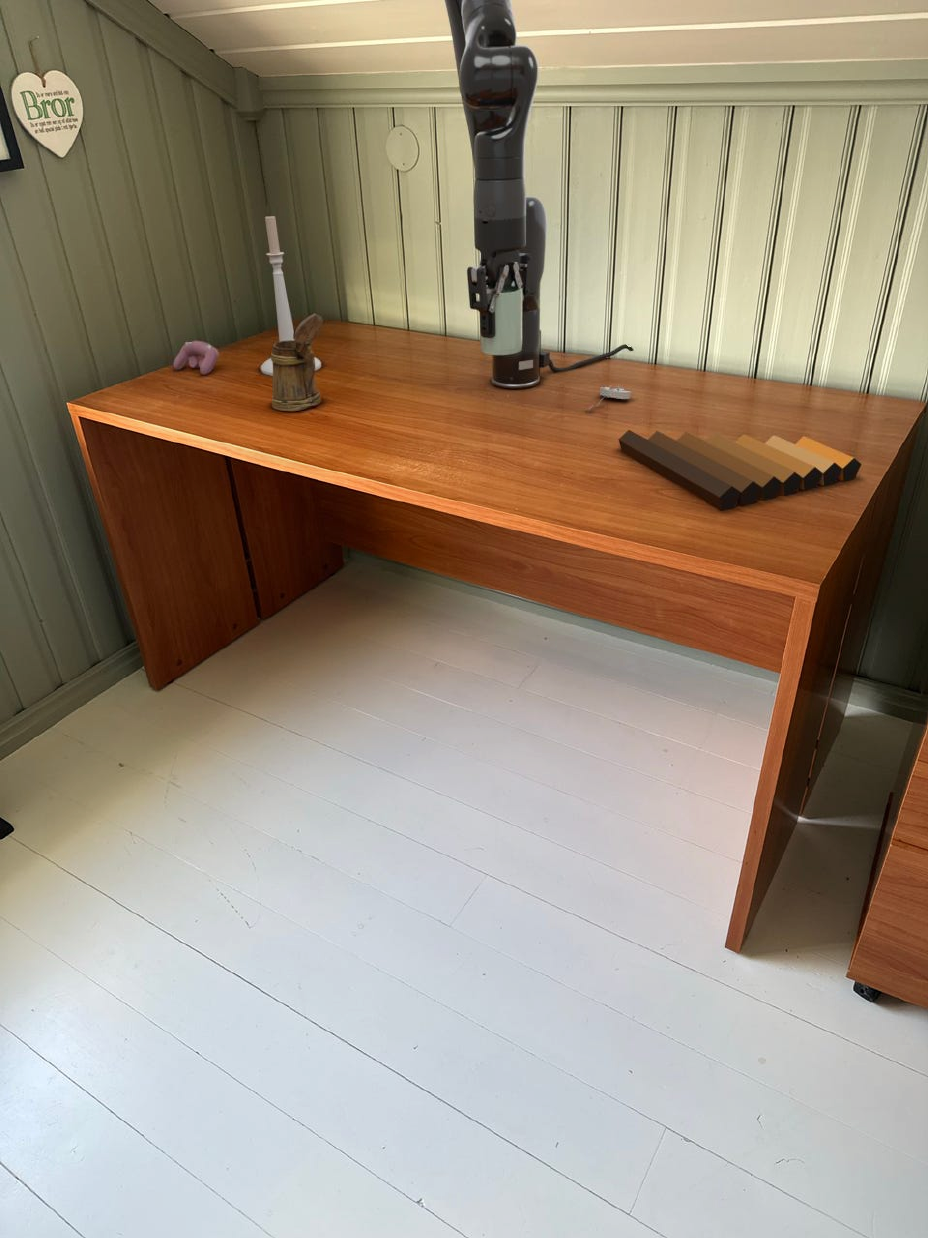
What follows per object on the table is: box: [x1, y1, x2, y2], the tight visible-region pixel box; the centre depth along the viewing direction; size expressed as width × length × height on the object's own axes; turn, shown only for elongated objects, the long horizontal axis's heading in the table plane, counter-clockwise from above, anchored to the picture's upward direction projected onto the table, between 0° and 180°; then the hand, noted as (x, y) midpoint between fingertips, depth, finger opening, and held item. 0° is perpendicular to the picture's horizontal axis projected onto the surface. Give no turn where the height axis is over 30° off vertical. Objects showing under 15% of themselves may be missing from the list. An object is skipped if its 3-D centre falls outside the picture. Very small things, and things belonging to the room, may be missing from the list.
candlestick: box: [260, 214, 322, 377], centre depth 173 cm, size 13×13×30 cm
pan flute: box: [618, 429, 862, 512], centre depth 127 cm, size 25×3×25 cm
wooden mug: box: [270, 311, 324, 412], centre depth 153 cm, size 9×14×18 cm, turn 47°
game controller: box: [587, 384, 632, 413], centre depth 153 cm, size 6×12×3 cm, turn 158°
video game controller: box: [172, 340, 220, 376], centre depth 180 cm, size 10×5×7 cm, turn 58°
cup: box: [478, 286, 522, 356], centre depth 129 cm, size 6×6×9 cm
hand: (500, 331), depth 130 cm, fingers closed on cup, 6 cm apart
